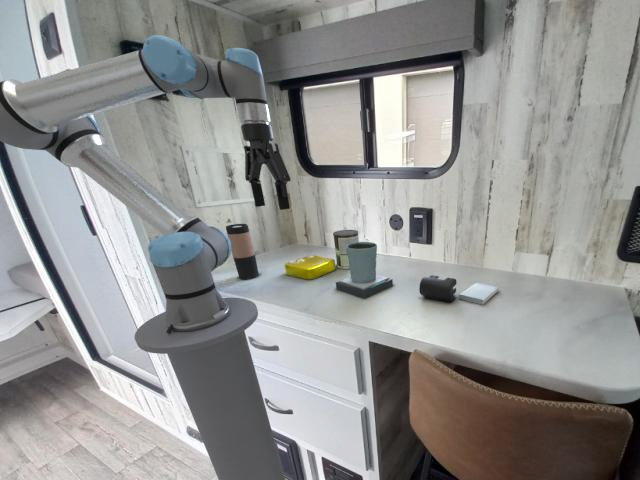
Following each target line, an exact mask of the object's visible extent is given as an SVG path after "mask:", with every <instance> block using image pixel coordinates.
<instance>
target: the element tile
mask: <svg viewBox="0 0 640 480" xmlns="http://www.w3.org/2000/svg"><path fill="white" fill-rule="evenodd" d="M284 270H285V274H286V275H287V276H290V277H295V278H299V279H303V280H309V281H310V280H315V279H317V278H320V277H322V276H324V275H327V274H330V273H331V272H334V271H335V270H336V261H335V259H334V258H331V257H325V256H318V255H314V254H313V255H312V254H310V255H307V256H303V257H301V258H298V259H295V260H291V261H289V262H288V261H287V262H285V264H284Z"/></svg>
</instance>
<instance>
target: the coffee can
mask: <svg viewBox="0 0 640 480" xmlns="http://www.w3.org/2000/svg"><path fill="white" fill-rule="evenodd" d="M332 236H333V242H334V250H335V258H336V267H337V268H339V269H342V270H343V269H344V270H350V268H349V261H348V260H349V259H348V255H347V249H346V245H348V244H350V243H355V242H360V238H359V231H358V230H356V229H341V230H337V231H333V233H332Z"/></svg>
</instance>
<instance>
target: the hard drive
mask: <svg viewBox="0 0 640 480" xmlns="http://www.w3.org/2000/svg"><path fill="white" fill-rule="evenodd" d="M498 292H499V287H498V286H494V285H489V284H485V283H481V282H480V283H479V282H475V283H473V284H472V285H471V286H469V287H468V288H467V289H465V290H464V291H462V292H461V293H459V294H458V299H460V300H462V301H466V302H470V303H475V304H478V305H485V304H486V303H487V302H488V301H489V300H490V299H491V298H493V296H494V295H495V294H497V293H498Z"/></svg>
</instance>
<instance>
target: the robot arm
mask: <svg viewBox="0 0 640 480" xmlns="http://www.w3.org/2000/svg"><path fill="white" fill-rule="evenodd" d="M224 55H225V59H224V60H223V59H222V60H205V59H203V58H202V57H200V56H198V55H197V54H196V53H195V52H192V51H191V50H189V49H188V48H187V47H186V46H184V45H183V44H182V43H181V42H179V41H177V40H175V39H173V38H170V37H168V36H166V35H162V34H154V35H151V36H149V37H148V38H147V39H146V40H145V42H144V44H143V46H142V49H138V50H135V51H132V52H131V51H130V52H128V53H124V54H121V55H118V56H113V57H111V58H107V59H104V60H100V61H96V62H93V63H89V64H85V65H83V66H79V67H75V68H72V69H68V70H65V71H60V72H57V73H54V74H50V75H47V76H43V77H40V78H36V79H33V80H29V81H26V82H25V81H24V82H22V81H19V80H16V79H6V80H2V81H0V142H1V143H4V144H6V145H8V146H11V147H14V148H18V149H22V150H32V151H33V150H34V151H45V152H47V153H48V154H50V155H51V156H52V157H53V158H55V159H56V160H57V161H58V162H60V163H61V164H63V165H64V166H66V167H68V168H77V169H79V170H80V171H81V172H83V173H84V174H85V175H87V176H88V177H89V178H90V179H91V180H93V182H95V183H96V184H98V185H99V186H100V187H101V188H103V189H104V190H105V191H106V192H108V193H109V194H110V195H112V196H113V197H114V198H116V199H117V200H118V201H120V203H122V205H125V207H127V208H128V209H129V210H130V211H132V212H133V213H134V214H135V215H137V216H138V217H139V218H141V219H142V220H143V221H144V222H146V223H147V224H148V225H150V226H151V227H152V228H153V229H154V230H155V231H157V232H158V233H159V234H160V235H161V236H159V237H155V238H154V239H152V240H151V241H150V242H149V243H148V245H147V251H148V254H149V255H148V256H149V261H150V262H151V264H152V266H153V268H154V271H155V274H156V276H157V279H158V282H159V284H160V287H161V290H162V292H163V295H164V298H165V300H166V302H165V312H166V324H167V327H168V330H167V331H166V332H167V333H169V334H170V332H171V331H174V332H192V331H197V330H202V329H205V328H209V327H211V326H214V325H216V324H218V323H220V322H222V321H224V320H225V319H226V318H227V317H228V316H229V315H230V309H229V306H228V304H227V303H226V301H225V300H224V299H223V298H224V297H223V296H222V294H221V293H220V292H219V291H218V290H217V287H216V284H215V280H214V277H213V274H212V272H213V271H214V270H216V269H217V268H218V267H221V266H222V265H224V264H225V263H226V262H227V260H228V259H229V258H230V256H231V254H232V251H231V242H230V240H229V238H228V235H227V233H225V231H223V230H221V229H220V228H218V227H215V226H210V225H207V223H205V222H204V221H203V220H202V219H200V218H199V216H190V215H188V214H187V213H185V212H184V211H183V210H181V209H180V208H179V207H178V206H177V205H176V204H175V203H173V202H172V201H171V200H170V199H169V198H167V196H166V195H164V194H163V193H162V192H161V191H160V190H158V189H157V188H156V187H155V186H153V185H152V184H151V183H150V182H149V181H147V179H145V178H144V177H143V176H142V175H141V174H139V173H138V172H137V171H136V170H135V169H133V168H132V167H131V166H130V165H128V163H126V161H124V160H123V159H122V158H120V156H118V155H117V154H116V153H115V152H113V151H112V150H111V149H110V148H109V147H108V142H107V138H106V137H105V136H104V135H102V134H101V131H99V126H98V123H97V122H96V121H95V119H94V118H93V117H92V115H96V114H100V113H102V112H106V111H110V110H112V109H116V108H120V107H124V106H126V105H127V106H128V105H131V104H134V103H137V102H140V101H143V100H148V99H150V98H153V97H157V96H158V97H159V96H161V95H164V94H169V93H172V92H176V91H180V92H181V93H182V94H183V95H184V96H185V97H186V98H190V99H199V100H204V99H219V98H220V99H224V98H225V99H226V98H228V99H234V100H235V106H236V110H237V111H236V112H237V116H238V120H239V122H240V123H241V126H240V129H241V134H242V139H243V140H244V141H245V142H249V145H244V146H243V149H244V165H245V166H244V179H245V181H246V182H249V184H250V187H251V191H252V196H253V200H254V205H255V207H256V208H258V207H265V206H266V202H265V196H264V192H263V187H262V181H261V180H260V177H261V171H262V168H263V167H262V166H263V165H266V167H267V169H268V171H269V172H270V174H271V176H272V178H273V180H274V181H275V182H274V187H275V191H276V197H277V203H278V208H279V210H280V211H284V210H289V209H291V207H290V201H289V196H288V195H289V194H288V188H287V184H288V182H291V176H290V173H289V171H288V169H287V166H286V164H285V162H284V160H283V157H282V155H281V152H280V147H279V145H278V144H279V143H275V142H274V143H271V142H273V141H274V140H275V138H274V132H273V127H272V125H271V124H270V123H271V115H270V113H271V112H270V111H269V106H268V105H269V104H268V99H267V94H266V87H265V81H264V80H265V79H264V74H263V71H262V66H261V63H260V59H259V56H258V54H257V53H256V52H254V51H253V50H251V49H247V48H243V47H232V48H227V49H226V50H225V54H224Z"/></svg>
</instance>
